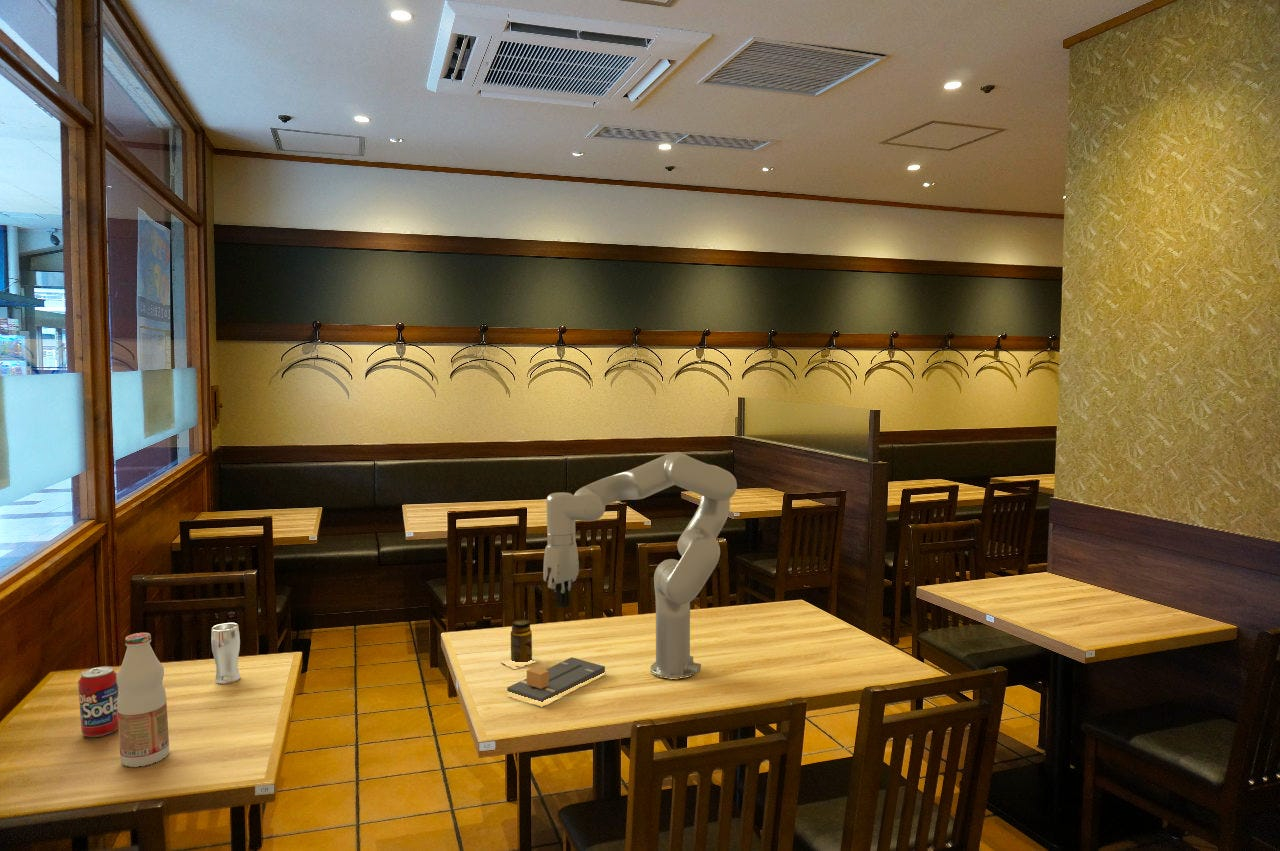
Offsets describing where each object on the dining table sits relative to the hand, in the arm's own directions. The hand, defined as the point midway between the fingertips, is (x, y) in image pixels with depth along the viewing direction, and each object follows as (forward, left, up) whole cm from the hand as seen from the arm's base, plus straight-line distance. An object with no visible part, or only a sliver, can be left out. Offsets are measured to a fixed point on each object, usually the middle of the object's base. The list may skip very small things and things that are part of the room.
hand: (562, 605), depth 227 cm
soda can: (+71, +86, -21) cm, 113 cm away
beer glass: (+77, +52, -21) cm, 95 cm away
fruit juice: (+49, +86, -21) cm, 101 cm away
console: (0, +3, -21) cm, 21 cm away
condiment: (+20, -3, -22) cm, 29 cm away
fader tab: (0, +11, -18) cm, 21 cm away
